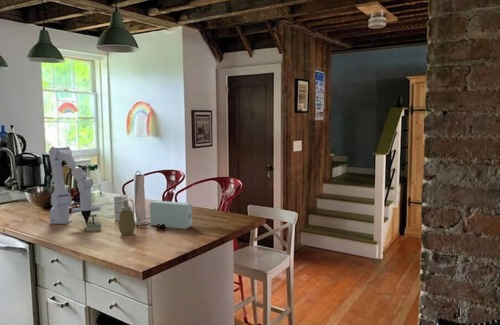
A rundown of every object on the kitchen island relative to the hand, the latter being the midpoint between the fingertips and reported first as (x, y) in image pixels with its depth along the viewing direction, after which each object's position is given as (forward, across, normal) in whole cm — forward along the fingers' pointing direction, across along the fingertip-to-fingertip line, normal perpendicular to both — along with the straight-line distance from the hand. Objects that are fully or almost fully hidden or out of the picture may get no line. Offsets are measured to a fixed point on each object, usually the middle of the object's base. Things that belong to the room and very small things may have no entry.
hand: (86, 224), depth 221 cm
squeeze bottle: (+2, +19, -23) cm, 30 cm away
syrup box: (+2, +19, +9) cm, 21 cm away
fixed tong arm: (+1, +4, +1) cm, 5 cm away
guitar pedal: (+2, +44, -16) cm, 46 cm away
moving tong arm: (+1, +1, -1) cm, 2 cm away
